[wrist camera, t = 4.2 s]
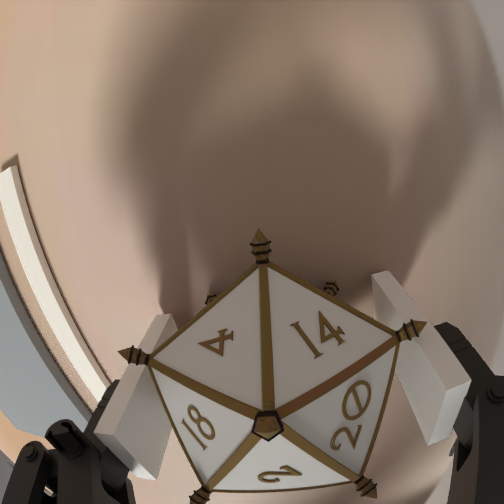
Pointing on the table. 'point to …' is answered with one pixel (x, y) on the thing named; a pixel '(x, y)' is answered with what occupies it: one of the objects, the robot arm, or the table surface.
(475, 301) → the table surface
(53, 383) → the mat
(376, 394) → the game die
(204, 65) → the table surface
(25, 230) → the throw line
